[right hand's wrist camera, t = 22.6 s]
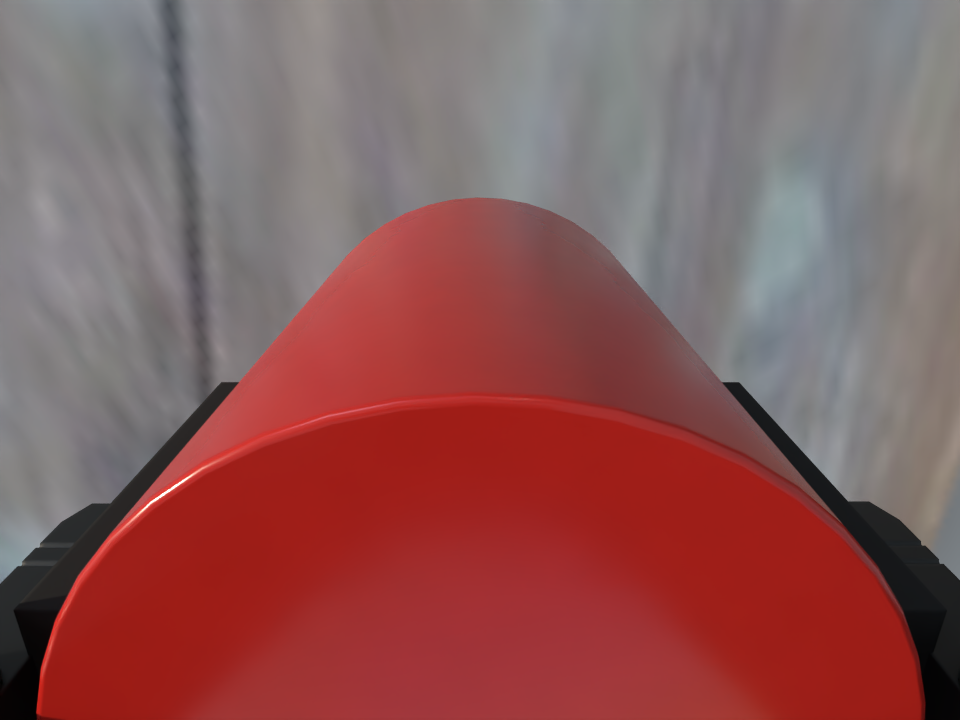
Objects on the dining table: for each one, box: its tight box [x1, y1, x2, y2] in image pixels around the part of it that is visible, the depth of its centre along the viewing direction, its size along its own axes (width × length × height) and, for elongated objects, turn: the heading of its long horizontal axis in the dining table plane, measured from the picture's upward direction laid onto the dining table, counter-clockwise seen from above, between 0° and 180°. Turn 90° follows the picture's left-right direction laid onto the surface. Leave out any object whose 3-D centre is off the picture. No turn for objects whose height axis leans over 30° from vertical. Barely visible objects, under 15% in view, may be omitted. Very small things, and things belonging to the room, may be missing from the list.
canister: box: [36, 198, 926, 720], centre depth 12 cm, size 9×9×12 cm
